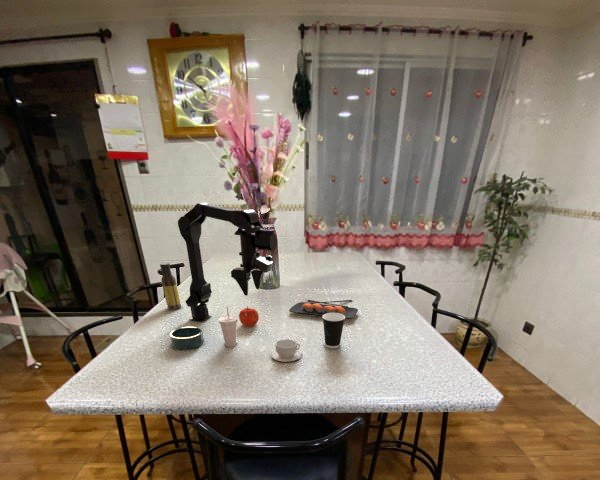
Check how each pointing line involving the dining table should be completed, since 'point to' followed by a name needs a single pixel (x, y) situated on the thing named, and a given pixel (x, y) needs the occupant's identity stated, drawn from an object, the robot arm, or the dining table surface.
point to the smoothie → (229, 329)
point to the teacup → (286, 350)
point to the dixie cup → (333, 329)
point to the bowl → (186, 338)
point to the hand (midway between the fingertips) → (252, 292)
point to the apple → (248, 317)
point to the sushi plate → (323, 309)
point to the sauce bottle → (170, 287)
